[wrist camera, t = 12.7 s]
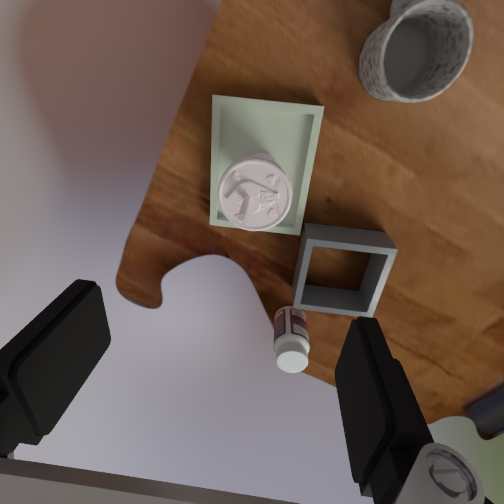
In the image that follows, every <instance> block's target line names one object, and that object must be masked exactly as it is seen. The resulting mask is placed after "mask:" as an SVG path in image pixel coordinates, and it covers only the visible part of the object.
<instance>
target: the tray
mask: <svg viewBox="0 0 504 504" xmlns="http://www.w3.org/2000/svg"><path fill="white" fill-rule="evenodd" d="M323 110H324V106H320V105H310V104H300V103H291V102H281V101H272V100H262V99H252V98H243V97H233V96H224V95H212V141H211V191H210V225H216V226H224V227H233V228H239V227H237V226H236V225H234V224H233V223H231V222H230V221H229V220H228V219H227V218H226V217H225V215H224V214H223V212H222V210H221V208H220V206H219V203H218V196H217V191H218V185H219V182H220V180H221V177H222V175H223V174H224V172H225V170H226V169H227V168H228V167H229V166H230V165H231V164H232V163H233V162H235V161H237V160H239V159H241V158H243V157H249V156H252V155H254V154H257V153H266V154H269V155H270V156H272V157H273V158H274V159H275V161H276V162H277V164H279V165H280V166H281V167H282V168H283V169H284V170H285V172H286V173H287V174H288V176H289V179H290V181H291V184H292V191H293V194H292V202H291V206H290V209H289V211H288V213H287V215H286V216H285V217H284V219H283V220H282V221H281V222H280V223H278V224H277V225H275V226H274V227H272V228H269V229H267V230H262V231H266V232H274V233H283V234H291V235H300V232H301V226H302V221H303V216H304V211H305V205H306V200H307V195H308V190H309V184H310V179H311V174H312V168H313V163H314V158H315V153H316V147H317V142H318V137H319V132H320V126H321V121H322V116H323ZM241 229H242V228H241Z"/></svg>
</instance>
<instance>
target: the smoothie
mask: <svg viewBox="0 0 504 504" xmlns="http://www.w3.org/2000/svg"><path fill="white" fill-rule="evenodd" d="M292 194H293V191H292V184H291V181H290V179H289V176H288V174H287V173H286V172H285V170H284V169H283V168H282V167H281V166H280V165H279V164H277V162H276V161H275V159H274V158H273V157H272V156H270V155H269V154H266V153H257V154H254V155H252V156H249V157H243V158H241V159H239V160H237V161H235V162H233V163H232V164H231V165H230V166H229V167H228V168H227V169H226V170H225V172H224V174H223V175H222V177H221V180H220V182H219V185H218V191H217V196H218V203H219V206H220V208H221V210H222V212H223V214H224V215H225V217H226V218H227V219H228V220H229V221H230V222H231V223H233V224H234V225H236V226H237V227H239V228H242V229H245V230H249V231H262V230H267V229H269V228H272V227H274V226H275V225H277V224H278V223H280V222H281V221H282V220H283V219H284V217H285V216H286V215H287V213H288V211H289V209H290V206H291V202H292Z"/></svg>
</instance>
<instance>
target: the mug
mask: <svg viewBox="0 0 504 504" xmlns="http://www.w3.org/2000/svg"><path fill="white" fill-rule="evenodd" d="M473 39H474V28H473V23H472V18H471V16H470V14H469V12H468V10H467V9H466V8H465V6H464V5H463V4H462V3H460V2H459V1H458V0H392V3H391V7H390V17H389V19H388V20H387V21H385V22H384V23H382V24H381V25H379V26H378V27H377V28H376V29H375V30H374V31H373V32H372V33H371V34H370V35H369V37H368V38H367V40H366V41H365V43H364V45H363V47H362V50H361V53H360V56H359V63H358V73H359V79H360V82H361V84H362V86H363V88H364V89H365V91H366V92H367V93H368V94H369V95H371V96H372V97H374V98H377V99H381V100H387V101H397V102H407V103H414V102H422V101H426V100H429V99H432V98H434V97H435V96H437V95H439V94H441V93H442V92H444V91H445V90H446V89H447V88H449V87H450V86H451V85H452V84H453V83H454V82H455V81H456V79H457V78H458V77H459V76H460V74H461V73H462V71H463V69H464V68H465V66H466V64H467V61H468V59H469V57H470V54H471V50H472V46H473Z"/></svg>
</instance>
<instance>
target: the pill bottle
mask: <svg viewBox="0 0 504 504" xmlns="http://www.w3.org/2000/svg"><path fill="white" fill-rule="evenodd" d="M309 347H310V346H309V339H308V330H307V322H306V315H305V313H304V312H303V311H302V310H301V309H295V308H293V306H285V307H282V308H280V309H279V310H278V311H277V312H276V314H275V317H274V351H275V353H276V363H277V366H278V367H279V368H280V369H281V370H283V371H285V372H289V373H295V372H300V371H302V370H304V369H305V368H306V367H307V365H308V352H309Z"/></svg>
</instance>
